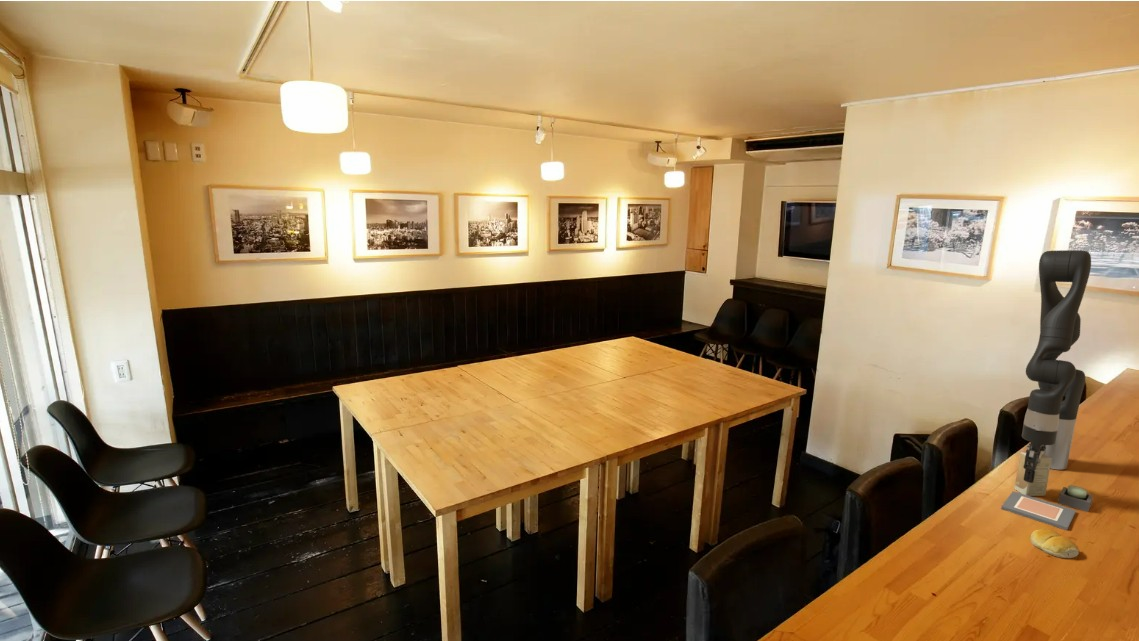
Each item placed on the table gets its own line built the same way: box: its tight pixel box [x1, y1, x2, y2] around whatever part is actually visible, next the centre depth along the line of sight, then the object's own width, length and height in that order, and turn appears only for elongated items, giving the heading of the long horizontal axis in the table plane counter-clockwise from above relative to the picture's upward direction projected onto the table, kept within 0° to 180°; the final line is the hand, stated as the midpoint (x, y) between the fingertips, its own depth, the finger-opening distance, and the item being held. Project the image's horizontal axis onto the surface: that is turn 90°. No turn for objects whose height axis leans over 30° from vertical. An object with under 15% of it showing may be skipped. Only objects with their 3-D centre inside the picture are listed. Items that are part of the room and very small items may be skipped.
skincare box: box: [1014, 451, 1051, 497], centre depth 161 cm, size 6×4×12 cm
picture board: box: [1000, 490, 1077, 531], centre depth 152 cm, size 13×14×1 cm
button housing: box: [1057, 486, 1094, 513], centre depth 156 cm, size 6×6×3 cm
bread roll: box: [1030, 528, 1080, 559], centre depth 135 cm, size 8×9×4 cm
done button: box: [1067, 484, 1088, 498], centre depth 155 cm, size 4×4×2 cm
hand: (1031, 477), depth 161 cm, fingers closed on skincare box, 7 cm apart
